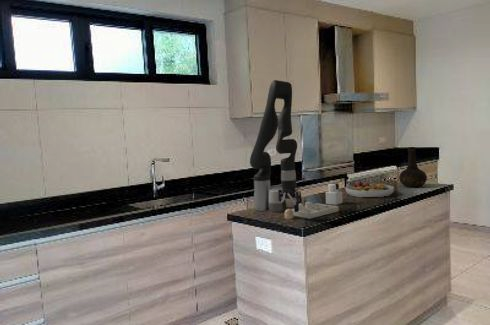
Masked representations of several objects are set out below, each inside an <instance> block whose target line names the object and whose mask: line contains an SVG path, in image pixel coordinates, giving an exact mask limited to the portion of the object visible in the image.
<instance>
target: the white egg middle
mask: <svg viewBox="0 0 490 325" xmlns="http://www.w3.org/2000/svg"><path fill="white" fill-rule="evenodd" d="M313 204H314V203H313V202H312V201H305V203H304V206H305V208H307V209H311V208H313Z"/></svg>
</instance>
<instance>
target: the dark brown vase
mask: <svg viewBox="0 0 490 325" xmlns="http://www.w3.org/2000/svg"><path fill="white" fill-rule="evenodd" d="M406 151H407V152H408V157H407V158H408V159H407V167H406V169H404V170H401V172H400V174H399V176H398V180H399V181H400V183H401V184H402V186H404V187H406V186H408V187H407V188H420V187H423V186H424V185H425V184H426V182H427V179H428V176H427V173H426V171H424V170H422V169H420V168H419V167H418V163H417V158H416V151H417V149H416V147H414V146H410V147H408V149H407V150H406Z"/></svg>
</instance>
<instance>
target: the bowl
mask: <svg viewBox="0 0 490 325" xmlns="http://www.w3.org/2000/svg"><path fill="white" fill-rule="evenodd" d="M394 190H395V187H394V186H393V185H389V184H384V183H369V182H368V181H363V182H362V181H360V180H357V181H355V182H353V184H350V185H346V186H345V192H346V194H348V195H349V196H351V197H354V196H355V198H362V197H378V198H385V197H384V196H386V197H388V196H391V195H392V194H393V193H394Z"/></svg>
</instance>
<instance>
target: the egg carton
mask: <svg viewBox="0 0 490 325" xmlns="http://www.w3.org/2000/svg"><path fill="white" fill-rule="evenodd" d="M312 204H313V208H311V209H307V208H305V205H303V206H304V210H302V211H298V212H294V208H290V209H291V210H292V211H293V216H295V217H301V218H305V219H313V218H317V217H321V216H324V215H325V216H326V215H330V214H332V213H337V212H339V211H340V210H339V206H337V205H332V204H326V203H325V204H324V203H318V202H317V203H312Z"/></svg>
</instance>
